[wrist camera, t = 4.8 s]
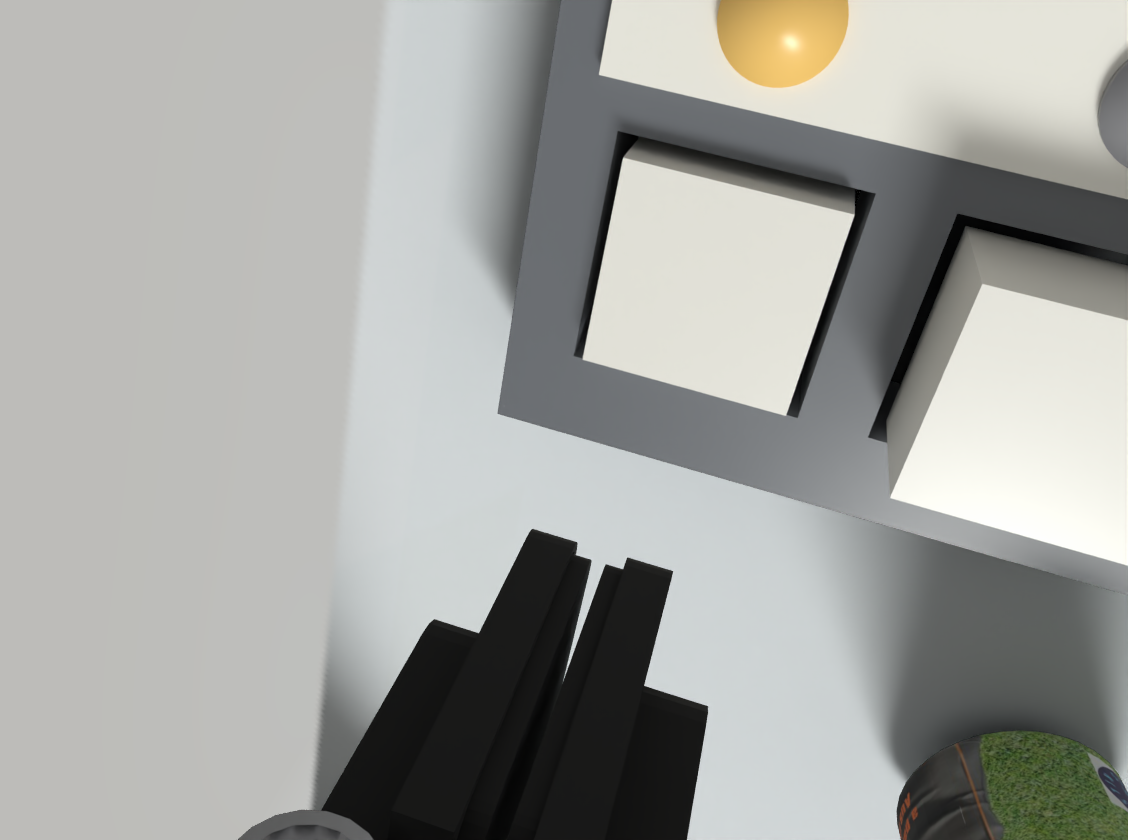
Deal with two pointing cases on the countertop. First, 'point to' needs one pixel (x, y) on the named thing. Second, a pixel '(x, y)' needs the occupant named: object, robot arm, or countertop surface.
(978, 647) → the countertop surface
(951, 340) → the middle key
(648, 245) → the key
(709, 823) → the countertop surface
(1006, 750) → the beverage can
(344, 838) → the robot arm
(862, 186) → the board
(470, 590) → the countertop surface
